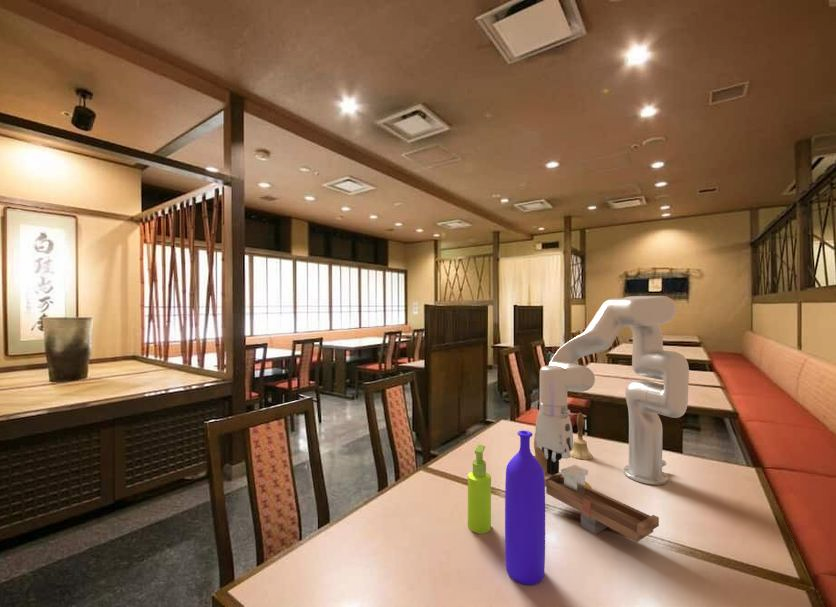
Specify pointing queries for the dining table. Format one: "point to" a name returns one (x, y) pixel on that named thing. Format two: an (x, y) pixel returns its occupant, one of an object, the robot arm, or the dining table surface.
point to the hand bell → (580, 442)
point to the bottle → (525, 516)
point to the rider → (575, 478)
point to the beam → (602, 510)
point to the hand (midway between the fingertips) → (552, 472)
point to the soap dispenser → (479, 495)
